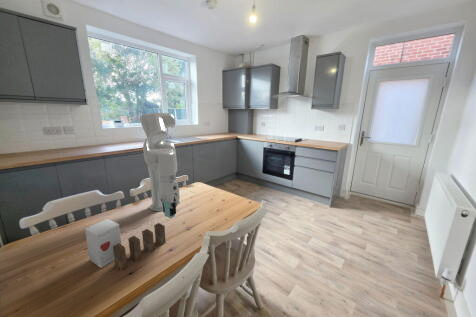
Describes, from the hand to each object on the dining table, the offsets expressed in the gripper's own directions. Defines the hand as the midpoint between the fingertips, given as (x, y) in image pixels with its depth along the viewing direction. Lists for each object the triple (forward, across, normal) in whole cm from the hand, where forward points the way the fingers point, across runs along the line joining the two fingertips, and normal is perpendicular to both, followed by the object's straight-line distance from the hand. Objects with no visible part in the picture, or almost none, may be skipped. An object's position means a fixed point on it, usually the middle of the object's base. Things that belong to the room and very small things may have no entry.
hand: (169, 212), depth 93 cm
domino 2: (+13, 0, +18) cm, 22 cm away
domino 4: (+13, 0, +6) cm, 14 cm away
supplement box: (+13, +10, +25) cm, 30 cm away
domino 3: (+13, 0, +12) cm, 18 cm away
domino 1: (+13, 0, +24) cm, 27 cm away
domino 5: (+2, 0, 0) cm, 2 cm away
